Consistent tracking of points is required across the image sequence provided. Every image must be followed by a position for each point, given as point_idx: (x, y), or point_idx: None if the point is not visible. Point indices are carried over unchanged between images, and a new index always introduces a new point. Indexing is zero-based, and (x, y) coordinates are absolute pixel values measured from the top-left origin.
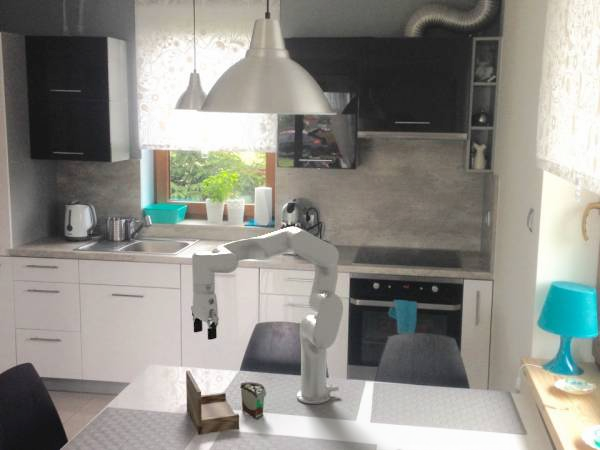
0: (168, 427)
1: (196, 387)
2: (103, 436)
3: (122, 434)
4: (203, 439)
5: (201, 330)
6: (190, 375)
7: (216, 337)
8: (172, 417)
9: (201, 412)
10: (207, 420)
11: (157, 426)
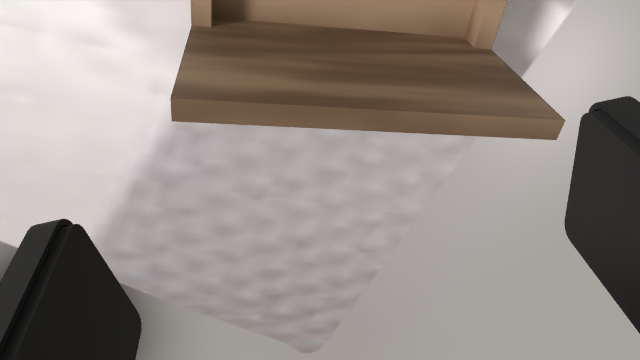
0: (336, 129)
1: (491, 129)
2: (306, 298)
3: (318, 258)
4: (509, 32)
5: (80, 240)
6: (276, 115)
7: (630, 98)
8: None
9: (507, 65)
10: (498, 19)
11: (309, 161)
